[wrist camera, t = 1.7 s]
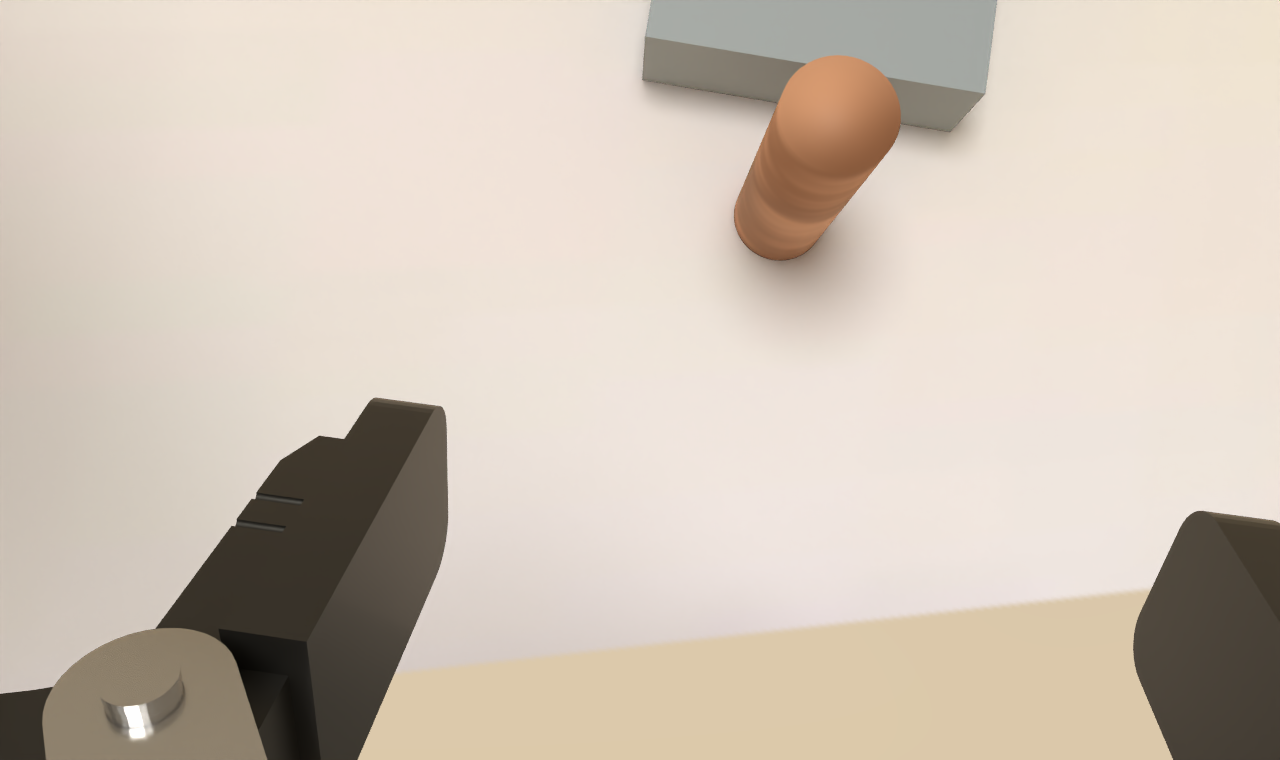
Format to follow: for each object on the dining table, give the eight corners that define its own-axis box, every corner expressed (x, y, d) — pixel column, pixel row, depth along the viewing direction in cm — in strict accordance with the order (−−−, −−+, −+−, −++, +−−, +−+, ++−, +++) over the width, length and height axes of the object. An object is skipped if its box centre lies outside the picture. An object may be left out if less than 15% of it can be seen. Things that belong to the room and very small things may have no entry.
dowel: (717, 200, 37) (756, 91, 27) (793, 157, 38) (859, 34, 28) (763, 276, 37) (820, 194, 27) (840, 232, 37) (924, 135, 27)
